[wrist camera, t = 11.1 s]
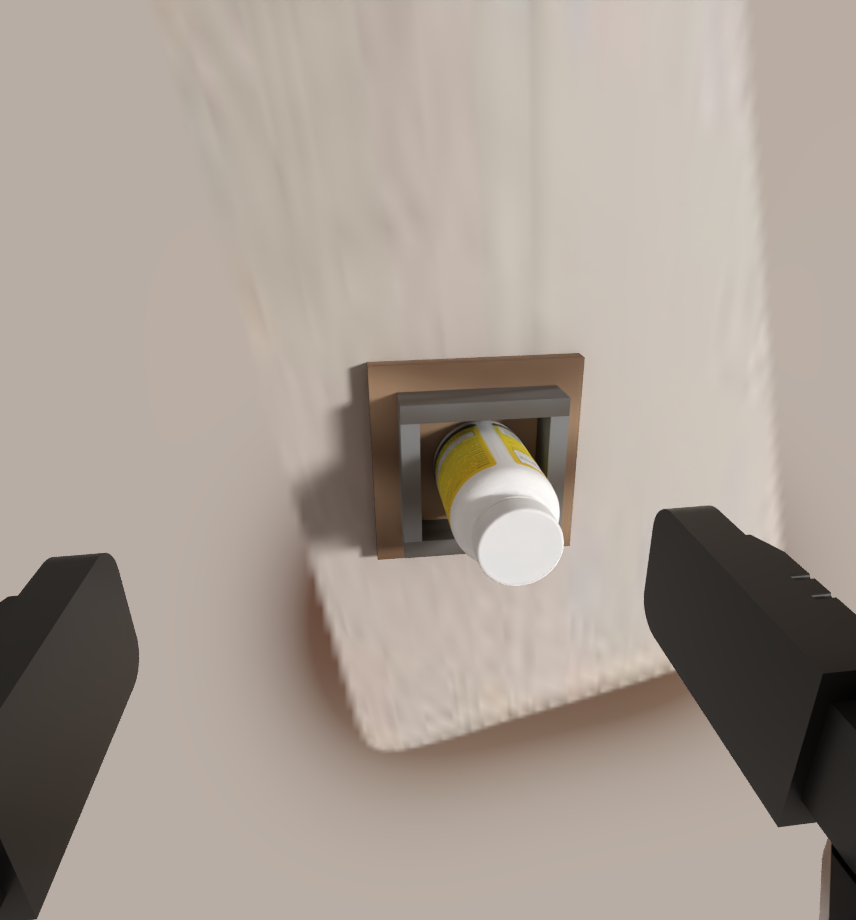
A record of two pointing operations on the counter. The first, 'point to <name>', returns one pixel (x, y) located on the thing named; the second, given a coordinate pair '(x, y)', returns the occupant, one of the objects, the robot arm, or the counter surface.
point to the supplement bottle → (498, 502)
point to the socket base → (450, 405)
